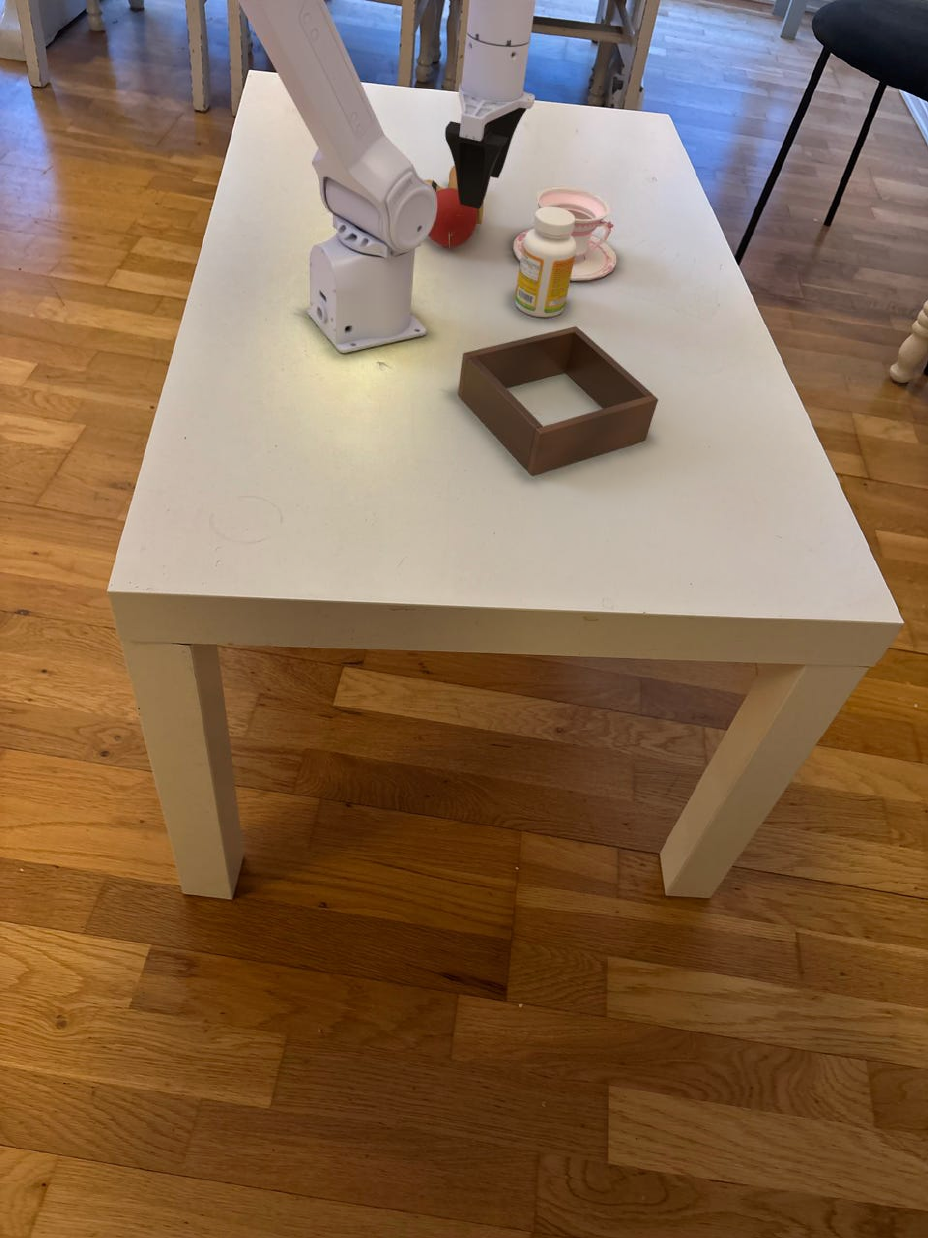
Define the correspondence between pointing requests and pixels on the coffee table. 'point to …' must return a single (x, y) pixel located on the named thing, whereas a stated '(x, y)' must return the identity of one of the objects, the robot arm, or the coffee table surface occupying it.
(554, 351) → the square frame
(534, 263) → the supplement bottle
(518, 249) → the teacup
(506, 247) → the coffee table surface
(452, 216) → the kendama
